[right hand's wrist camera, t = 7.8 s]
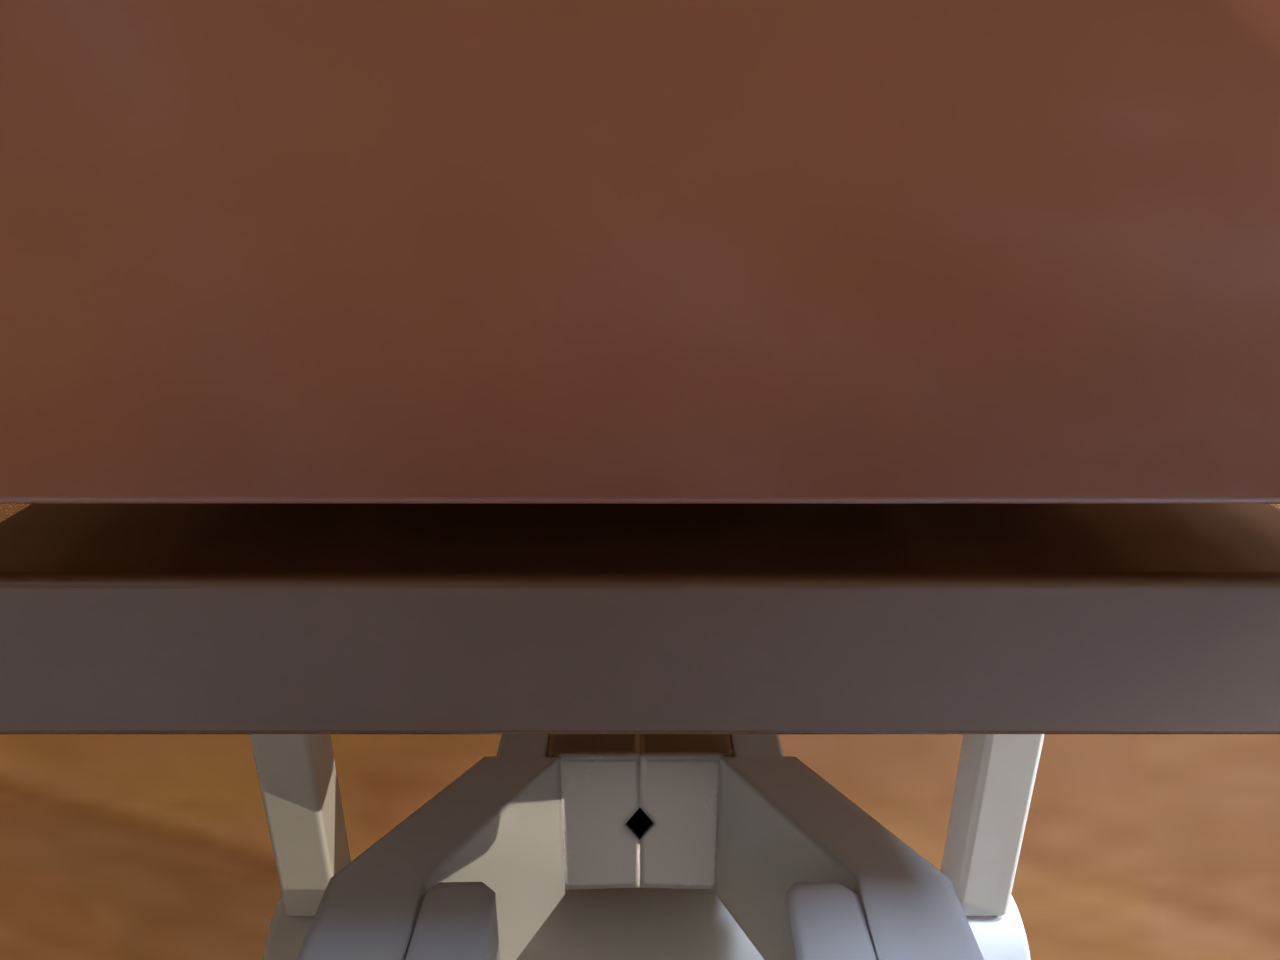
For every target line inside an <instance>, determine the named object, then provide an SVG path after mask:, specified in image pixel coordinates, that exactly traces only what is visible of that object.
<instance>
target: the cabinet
mask: <svg viewBox="0 0 1280 960" xmlns="http://www.w3.org/2000/svg"><path fill="white" fill-rule="evenodd" d="M0 503H453V504H454V503H455V504H1280V0H0Z"/></svg>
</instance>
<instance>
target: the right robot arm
mask: <svg viewBox="0 0 1280 960" xmlns="http://www.w3.org/2000/svg"><path fill="white" fill-rule="evenodd" d="M639 887H640V888H674V889H710V890H715V894H716V896H717V897H718V898H719V900H720V901H721V902H722V904H723V905H724V906H725V908H726V909H727V910H728V912H729V913H730V914H731V916H732V917H733V918H734V920H735V921H736V922H737V924H738V925H739V926H740V928H741V929H742V930H743V932H744V933H745V934H746V936H747V937H748V938H749V940H750V941H751V942H752V944H753V945H754V946H755V948H756V949H757V950H758V952H759V953H760V955H761V956H762V957H763V959H764V960H984V958H983V956H982V953H981V951H980V949H979V946H978V944H977V941H976V939H975V937H974V934H973V932H972V930H971V927H970V925H969V922H968V920H967V918H966V915H965V913H964V911H963V908H962V906H961V903H960V901H959V899H958V896H957V894H956V891H955V889H954V887H953V884H952V882H951V880H950V879H949V878H948V877H947V876H945V875H944V874H943V873H941V872H940V871H939V870H938V869H936V868H935V867H934V866H933V865H931V864H930V863H929V862H928V861H926V860H925V859H924V858H923V857H921V856H920V855H919V854H917V853H916V852H915V851H914V850H912V849H911V848H910V847H909V846H907V845H906V844H905V843H904V842H902V841H901V840H900V839H899V838H897V837H896V836H895V835H894V834H892V833H891V832H890V831H888V830H887V829H886V828H885V827H883V826H882V825H881V824H880V823H878V822H877V821H876V820H875V819H873V818H872V817H871V816H870V815H868V814H867V813H866V812H864V811H863V810H862V809H861V808H859V807H858V806H857V805H856V804H854V803H853V802H852V801H851V800H849V799H848V798H847V797H846V796H844V795H843V794H842V793H840V792H839V791H838V790H837V789H835V788H834V787H833V786H832V785H830V784H829V783H828V782H827V781H825V780H824V779H823V778H822V777H820V776H819V775H818V774H816V773H815V772H814V771H813V770H811V769H810V768H809V767H808V766H806V765H805V764H804V763H803V762H801V761H800V760H799V759H798V758H796V757H783V753H782V748H781V744H780V740H779V736H778V734H502V736H501V740H500V744H499V748H498V753H497V757H484V758H483V759H481V760H480V761H479V762H477V763H476V764H475V765H474V766H472V767H471V768H470V769H469V770H467V771H466V772H465V773H463V774H462V775H461V776H460V777H458V778H457V779H456V780H455V781H453V782H452V783H451V784H450V785H448V786H447V787H446V788H444V789H443V790H442V791H441V792H439V793H438V794H437V795H436V796H434V797H433V798H432V799H430V800H429V801H428V802H427V803H425V804H424V805H423V806H422V807H420V808H419V809H418V810H417V811H415V812H414V813H413V814H411V815H410V816H409V817H408V818H406V819H405V820H404V821H403V822H401V823H400V824H399V825H398V826H396V827H395V828H394V829H392V830H391V831H390V832H389V833H387V834H386V835H385V836H384V837H382V838H381V839H380V840H378V841H377V842H376V843H375V844H373V845H372V846H371V847H370V848H368V849H367V850H366V851H365V852H363V853H362V854H361V855H359V856H358V857H357V858H356V859H354V860H353V861H352V862H351V863H349V864H348V865H347V866H345V867H344V868H343V869H342V870H340V871H339V872H338V873H337V874H335V875H334V876H333V877H332V878H330V881H329V883H328V885H327V888H326V890H325V892H324V895H323V897H322V899H321V902H320V904H319V906H318V909H317V911H316V914H315V916H314V918H313V921H312V923H311V925H310V928H309V930H308V932H307V935H306V937H305V939H304V942H303V944H302V946H301V949H300V951H299V953H298V956H297V958H296V960H516V959H517V958H518V956H519V955H520V954H521V952H522V951H523V950H524V948H525V947H526V946H527V944H528V943H529V942H530V940H531V939H532V938H533V936H534V935H535V934H536V932H537V931H538V930H539V928H540V927H541V926H542V924H543V923H544V922H545V920H546V919H547V918H548V916H549V915H550V914H551V912H552V911H553V910H554V908H555V907H556V906H557V904H558V903H559V902H560V900H561V899H562V898H563V896H564V895H565V890H570V889H604V888H639Z"/></svg>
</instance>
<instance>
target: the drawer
mask: <svg viewBox="0 0 1280 960" xmlns="http://www.w3.org/2000/svg"><path fill="white" fill-rule="evenodd" d="M0 734H250V738H251V743H252V748H253V753H254V758H255V763H256V767H257V772H258V777H259V782H260V787H261V792H262V797H263V802H264V807H265V812H266V817H267V822H268V827H269V832H270V837H271V842H272V847H273V852H274V857H275V862H276V867H277V872H278V877H279V881H280V886H281V891H282V895H281V897H280V899H279V901H278V903H277V906H276V908H275V911H274V914H273V917H272V920H271V923H270V927H269V930H268V934H267V939H266V943H265V949H264V955H263V960H296V958H297V956H298V953H299V951H300V949H301V946H302V944H303V942H304V939H305V937H306V935H307V932H308V930H309V928H310V925H311V923H312V921H313V918H314V916H315V914H316V911H317V909H318V906H319V904H320V902H321V899H322V897H323V895H324V892H325V890H326V888H327V885H328V883H329V881H330V878H332V877H333V876H334V875H335V874H337V873H338V872H339V871H340V870H342V869H343V868H344V867H345V866H347V865H348V864H349V863H351V860H350V854H349V848H348V841H347V835H346V829H345V823H344V816H343V810H342V804H341V798H340V791H339V785H338V779H337V773H336V766H335V760H334V754H333V748H332V741H331V735H330V734H964V736H963V742H962V748H961V754H960V760H959V766H958V772H957V778H956V784H955V790H954V795H953V801H952V807H951V813H950V819H949V825H948V831H947V837H946V843H945V849H944V855H943V861H942V867H941V873H943V874H944V875H945V876H947V877H948V878H949V879H950V880H951V882H952V884H953V887H954V889H955V891H956V894H957V896H958V899H959V901H960V903H961V906H962V908H963V911H964V913H965V915H966V918H967V920H968V922H969V925H970V927H971V930H972V932H973V934H974V937H975V939H976V941H977V944H978V946H979V949H980V951H981V953H982V956H983V958H984V960H1031V959H1030V952H1029V946H1028V941H1027V937H1026V933H1025V929H1024V925H1023V922H1022V919H1021V916H1020V913H1019V911H1018V908H1017V905H1016V903H1015V901H1014V899H1013V897H1012V895H1011V892H1012V888H1013V883H1014V878H1015V873H1016V869H1017V864H1018V859H1019V854H1020V850H1021V845H1022V840H1023V835H1024V830H1025V826H1026V821H1027V816H1028V811H1029V807H1030V802H1031V797H1032V792H1033V788H1034V783H1035V778H1036V773H1037V769H1038V764H1039V759H1040V754H1041V749H1042V745H1043V740H1044V735H1045V734H1280V510H1279V509H1277V508H1275V507H1273V506H1272V505H1270V504H455V503H454V504H453V503H32V504H30V505H29V506H27V507H25V508H24V509H22V510H20V511H19V512H17V513H15V514H14V515H12V516H10V517H9V518H7V519H5V520H3V521H2V522H0ZM516 960H764V959H763V957H762V956H761V955H760V953H759V952H758V950H757V949H756V948H755V946H754V945H753V944H752V942H751V941H750V940H749V938H748V937H747V936H746V934H745V933H744V932H743V930H742V929H741V928H740V926H739V925H738V924H737V922H736V921H735V920H734V918H733V917H732V916H731V914H730V913H729V912H728V910H727V909H726V908H725V906H724V905H723V904H722V902H721V901H720V900H719V898H718V897H717V896H716V894H715V890H710V889H674V888H640V887H639V888H604V889H570V890H565V895H564V896H563V898H562V899H561V900H560V902H559V903H558V904H557V906H556V907H555V908H554V910H553V911H552V912H551V914H550V915H549V916H548V918H547V919H546V920H545V922H544V923H543V924H542V926H541V927H540V928H539V930H538V931H537V932H536V934H535V935H534V936H533V938H532V939H531V940H530V942H529V943H528V944H527V946H526V947H525V948H524V950H523V951H522V952H521V954H520V955H519V956H518V958H517V959H516Z"/></svg>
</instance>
